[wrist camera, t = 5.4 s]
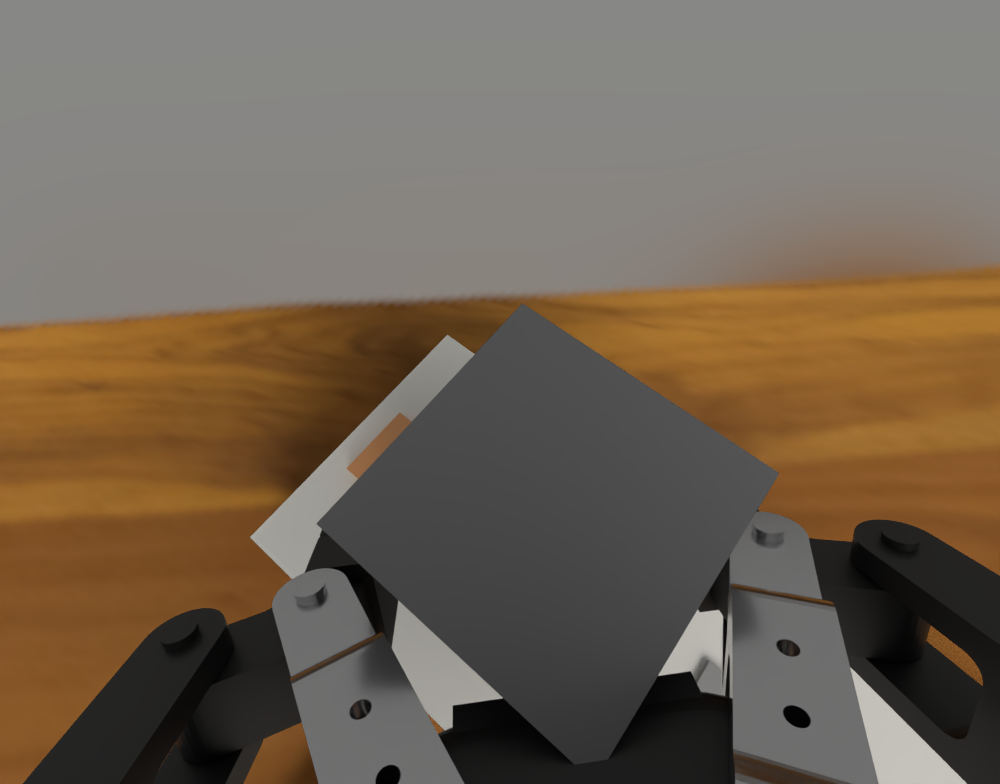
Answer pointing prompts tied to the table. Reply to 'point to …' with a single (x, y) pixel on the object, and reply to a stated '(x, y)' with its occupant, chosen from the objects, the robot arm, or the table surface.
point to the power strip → (444, 675)
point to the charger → (553, 527)
